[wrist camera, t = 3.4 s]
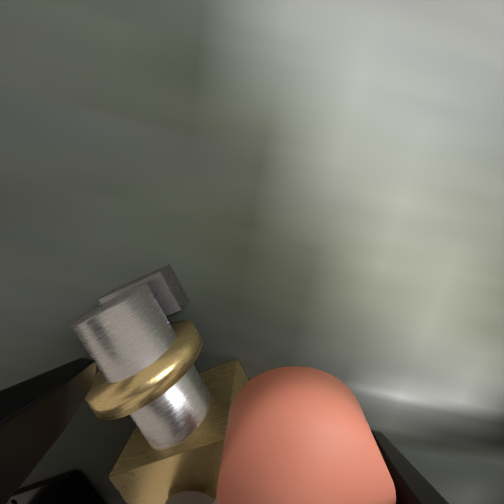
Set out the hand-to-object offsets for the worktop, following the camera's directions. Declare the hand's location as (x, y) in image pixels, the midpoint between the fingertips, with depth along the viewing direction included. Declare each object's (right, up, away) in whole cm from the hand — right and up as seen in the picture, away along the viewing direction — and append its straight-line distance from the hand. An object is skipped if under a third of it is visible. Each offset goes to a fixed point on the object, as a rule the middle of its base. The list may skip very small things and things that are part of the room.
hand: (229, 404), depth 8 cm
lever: (0, -3, +2) cm, 4 cm away
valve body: (-2, -6, +9) cm, 11 cm away
